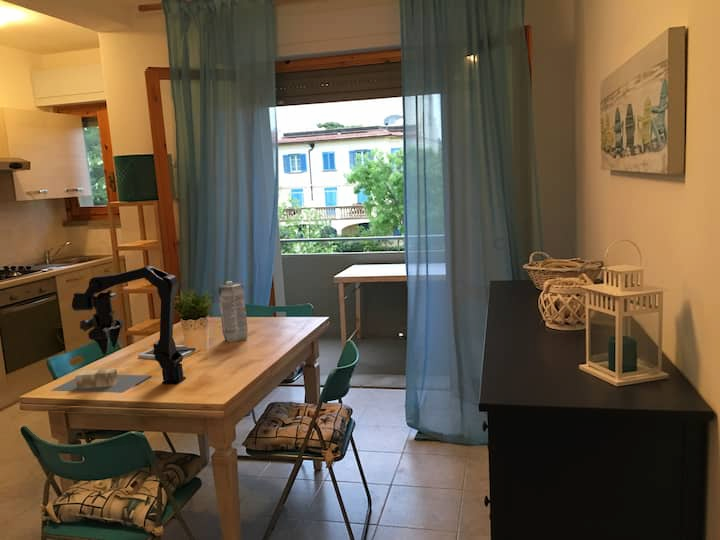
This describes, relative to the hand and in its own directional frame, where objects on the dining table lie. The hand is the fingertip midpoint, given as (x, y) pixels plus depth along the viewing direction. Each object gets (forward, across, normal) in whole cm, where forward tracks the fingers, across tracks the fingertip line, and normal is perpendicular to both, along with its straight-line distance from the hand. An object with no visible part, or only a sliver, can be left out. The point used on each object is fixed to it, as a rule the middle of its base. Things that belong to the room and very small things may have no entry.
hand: (109, 350), depth 221 cm
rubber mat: (+13, 0, -5) cm, 14 cm away
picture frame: (+14, -35, +11) cm, 39 cm away
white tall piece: (+10, +2, +1) cm, 10 cm away
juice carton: (+13, -51, +37) cm, 64 cm away
